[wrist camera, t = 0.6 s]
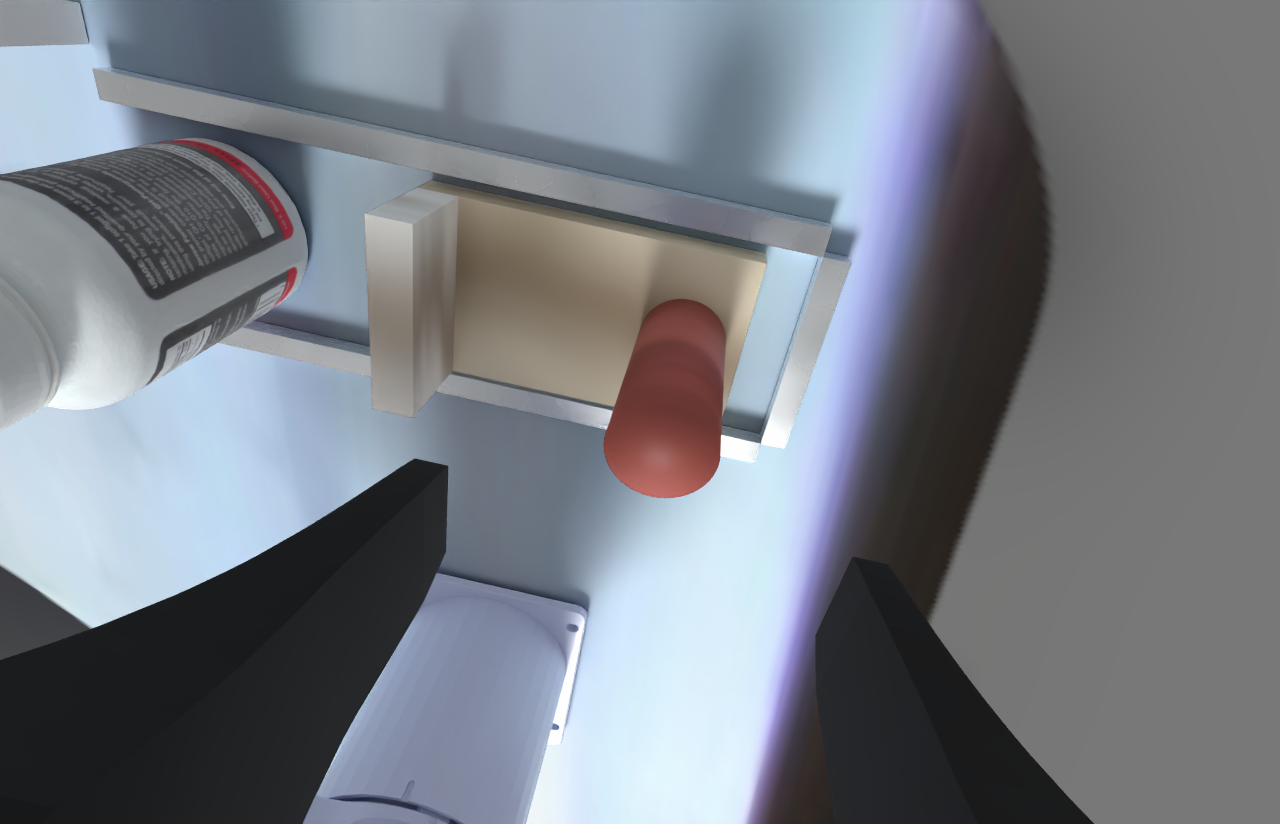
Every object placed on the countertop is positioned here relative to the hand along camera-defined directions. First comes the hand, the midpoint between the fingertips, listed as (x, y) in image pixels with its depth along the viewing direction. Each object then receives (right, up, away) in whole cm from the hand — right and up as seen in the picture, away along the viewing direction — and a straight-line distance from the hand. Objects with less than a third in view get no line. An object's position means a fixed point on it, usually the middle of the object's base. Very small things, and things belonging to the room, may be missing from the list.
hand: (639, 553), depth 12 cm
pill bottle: (-13, +8, +9) cm, 18 cm away
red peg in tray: (-2, +6, +9) cm, 11 cm away
